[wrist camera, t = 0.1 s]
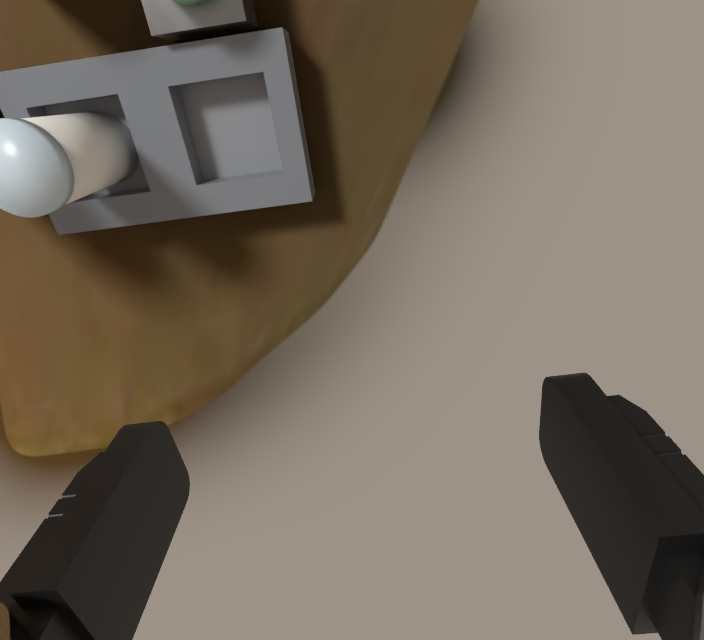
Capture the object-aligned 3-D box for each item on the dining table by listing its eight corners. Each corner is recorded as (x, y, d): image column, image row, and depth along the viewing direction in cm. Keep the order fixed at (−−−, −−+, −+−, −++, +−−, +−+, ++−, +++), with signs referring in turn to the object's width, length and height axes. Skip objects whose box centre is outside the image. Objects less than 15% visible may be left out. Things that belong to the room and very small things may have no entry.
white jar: (56, 115, 32) (-56, 126, 23) (125, 104, 32) (38, 112, 23) (86, 187, 35) (-6, 222, 26) (150, 178, 34) (79, 211, 25)
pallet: (15, 75, 32) (-16, 74, 29) (288, 32, 31) (282, 27, 28) (79, 224, 37) (58, 235, 34) (315, 192, 36) (312, 201, 33)
